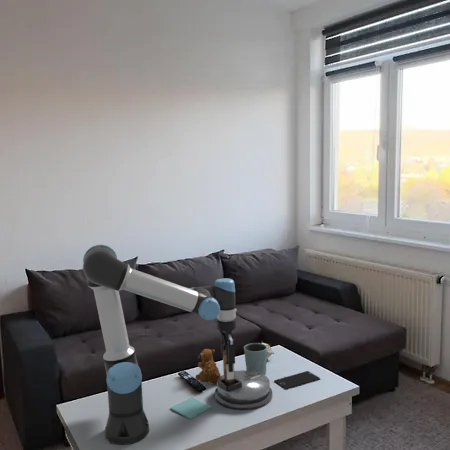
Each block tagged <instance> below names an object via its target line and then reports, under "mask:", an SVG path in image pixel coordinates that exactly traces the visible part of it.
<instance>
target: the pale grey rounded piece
mask: <svg viewBox="0 0 450 450" xmlns="http://www.w3.org/2000/svg"><path fill="white" fill-rule="evenodd" d="M261 344H264V345H266V346H267V355H266V357H267V360H268V359H269V358H270V357H271V356H272V355H274V354H275V352H273V350H272V347H271V343H270V342H269V343H265V342H263V340H261Z"/></svg>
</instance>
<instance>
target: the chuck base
mask: <svg viewBox="0 0 450 450" xmlns="http://www.w3.org/2000/svg"><path fill="white" fill-rule="evenodd" d="M272 399H273V390H272V388H271V387H270V393H269V395H268V397H267V398H265V399H264V400H262V401H260V402H256V403H252V404H234V403H230V402H227V401H224V400H222V399H221V398H220V397H219V396H218V394H217V387H216V388H215V390H214V400H215V401H216V402H217V404H219V405H220V406H222V407H224V408H227V409H231V410H235V411H238V410H239V411H248V410H249V411H251V410H256V409H259V408H262V407H265V406H266V405H268V404H269V403H270V402H271V400H272Z"/></svg>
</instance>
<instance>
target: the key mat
mask: <svg viewBox="0 0 450 450" xmlns="http://www.w3.org/2000/svg"><path fill="white" fill-rule="evenodd" d="M169 408H170V409H169V410H171V411H174V412H175V413H177V414H179V415H181V416H182V417H184V418H187V419H188V420H190V419H193V418H194V417H197V416H198V415H201V414H202V413H204V412H206V411H208V410H210V409H212V406H211V405H209V404H207V403H204V402H203V401H201V400H198V399H196V398H194V397H190V398H188V399H185V400H183V401H181V402H180V403H177V404H175V405H173V406H171V407H169Z"/></svg>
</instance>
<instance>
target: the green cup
mask: <svg viewBox="0 0 450 450" xmlns="http://www.w3.org/2000/svg"><path fill="white" fill-rule="evenodd" d="M261 343H262V342H261ZM261 343H260V342H252V343H251V342H250V343H248V344H246V345H244V346H243V351H244V352H243V353H244V359H245V361H244V362H245V366H246V368H245V369H246V370H245V371H254V372H258V373H261V374H263V375H265V376H266V374H267V363H268V362H267V361H268V359H267V357H266V355H267V346H266V345H264V344H261Z"/></svg>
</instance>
